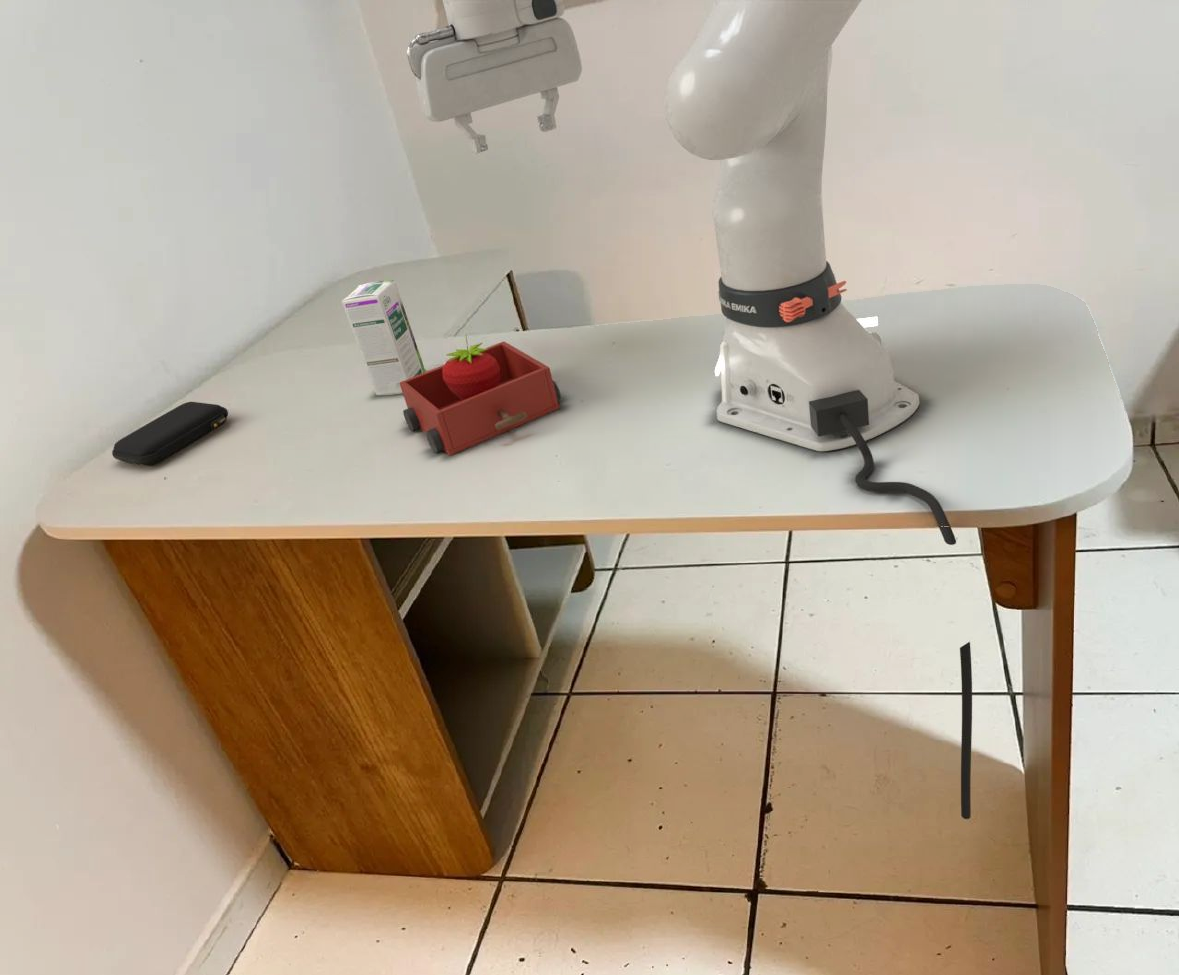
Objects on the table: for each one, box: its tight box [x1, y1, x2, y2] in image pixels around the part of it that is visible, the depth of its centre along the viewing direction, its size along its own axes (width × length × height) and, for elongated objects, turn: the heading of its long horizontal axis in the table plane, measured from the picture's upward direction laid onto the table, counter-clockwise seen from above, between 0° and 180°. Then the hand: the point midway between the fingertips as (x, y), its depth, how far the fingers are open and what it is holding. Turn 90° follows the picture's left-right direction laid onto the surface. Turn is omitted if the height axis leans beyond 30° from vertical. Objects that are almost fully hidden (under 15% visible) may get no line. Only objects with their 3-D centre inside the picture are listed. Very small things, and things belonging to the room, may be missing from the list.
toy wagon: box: [399, 340, 562, 456], centre depth 115 cm, size 17×17×6 cm
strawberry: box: [442, 334, 500, 401], centre depth 115 cm, size 6×8×10 cm
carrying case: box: [111, 401, 229, 467], centre depth 130 cm, size 11×3×15 cm
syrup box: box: [341, 279, 427, 396], centre depth 129 cm, size 6×6×14 cm
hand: (515, 140), depth 114 cm, fingers open, 8 cm apart
